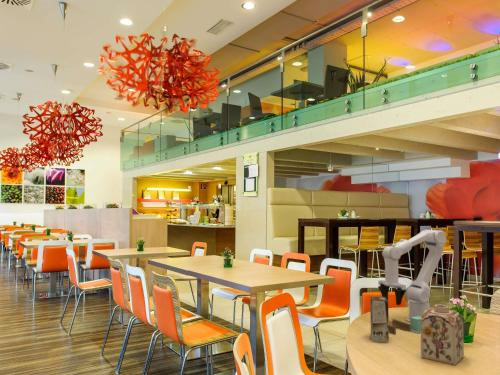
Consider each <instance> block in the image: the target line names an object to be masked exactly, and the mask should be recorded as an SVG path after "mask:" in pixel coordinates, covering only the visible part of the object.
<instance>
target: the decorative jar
mask: <svg viewBox="0 0 500 375" xmlns="http://www.w3.org/2000/svg"><path fill="white" fill-rule="evenodd" d="M430 308H431V309H427V310H425V311H424V312H423V315H422V317H421V333H420V357H421V359H426V360H431V361H435V362H439V363H444V364H449V365H453V366H456V365H457V364H458V363H459V362H460V361H461V360H462V359H463V357H465V354H464V352H465V351H464V350H465V348H464V345H465V344H464V343H465V342H464V321H463V320H464V318H462V315H461V314H460V313H459V312H458V311H456V310H453V309H450V308H449V306H448V305H446V304H445V305H444V304H434V307H430Z"/></svg>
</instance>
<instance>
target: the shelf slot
mask: <svg viewBox="0 0 500 375" xmlns="http://www.w3.org/2000/svg"><path fill="white" fill-rule="evenodd" d="M391 320H392V321H391V324H392V325H391V324H388V331H389V334H391V335H396V334H397V332H396V331H397V329H398V330H402V331H405V332H411V331H410V323H408V322H403V321H401V320H399V319H395V318H394V319H393V318H392V319H391Z"/></svg>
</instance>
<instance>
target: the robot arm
mask: <svg viewBox="0 0 500 375" xmlns="http://www.w3.org/2000/svg"><path fill="white" fill-rule="evenodd" d="M446 242H447V237H446V233H445V231H443V230H441V229H439V230H437V229H436V230H435V229H427V228H426V229H423V230H421V231H420V232H419V233H417V234H416V235H415V236H413V237H410V238H409V239H403V238H401V239H399V241H398V242H396V243H392V244H391V246H390V245H389V246H385V247H384V249H383V250H382V252H381V255H382V257H383V261H384V280H383V279H382V280H378V281H377V282H378V285H377V286H378V287H377V288H378V290H379V292H380V294H381V297H386V298H387V300H388V301H389V292H390V288H394V289H393V292H394V294H395V304H396V306H401V305H402V301H403V298H404V296H405V297H406V299H407V301H408V312H409V313H408V318H405V319H404V320H405V321H406V322H409V323H410V317H416V316H420V317H422V315H423V312H424V311H425V310H427V309H431V308H432V307H431V305H430V303H429V302H428V301H429V299H430V294H431V288H430V286H429V283H430V281H431V279H432V277H433V274H434V273H435V270H436V268H437V265H438V264H439V262H440V259H441V258H442V256H443V252H444V247H445V244H446ZM421 243H424V244H425V246H426V247H427V249H428V250H429V251H428V254H427V256H426V257H425V260H424V262H423V264H422V266H421V269H420V271H419V273H418V276H417V277H416V278H415V280H413V281H412V282H410V284H409V285H408V286H407V284H403V283H400V282H399V260H400V259H401V256H402V255H404V254H407V253H408V252H410V251H411V250H412V247H414V246H417V245H419V244H421Z"/></svg>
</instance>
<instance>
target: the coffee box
mask: <svg viewBox="0 0 500 375" xmlns="http://www.w3.org/2000/svg"><path fill="white" fill-rule="evenodd" d="M369 300H370V302H369V304H370V337H371V340H372V342H373V343H374V342H375V343H376V342H377V343H378V342H379V343H385V344H387V343H389V336H390V333H389V331H388V325H389V299H388V300H387V298H386V297H382V296H370V298H369Z"/></svg>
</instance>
